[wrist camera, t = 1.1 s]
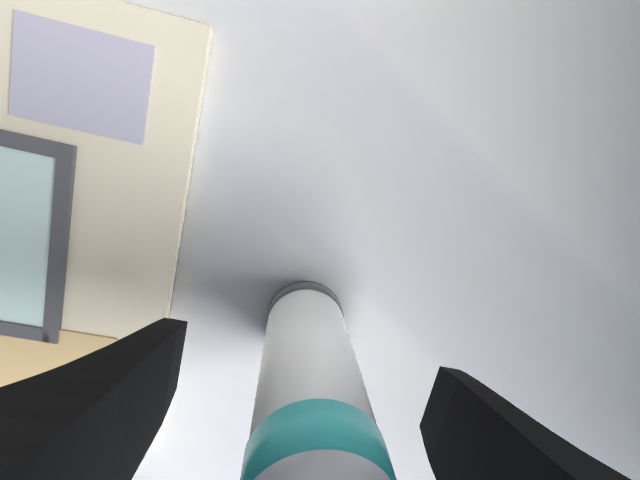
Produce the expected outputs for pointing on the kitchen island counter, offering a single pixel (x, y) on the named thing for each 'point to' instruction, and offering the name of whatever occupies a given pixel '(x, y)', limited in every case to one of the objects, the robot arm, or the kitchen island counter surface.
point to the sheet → (91, 172)
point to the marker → (312, 397)
